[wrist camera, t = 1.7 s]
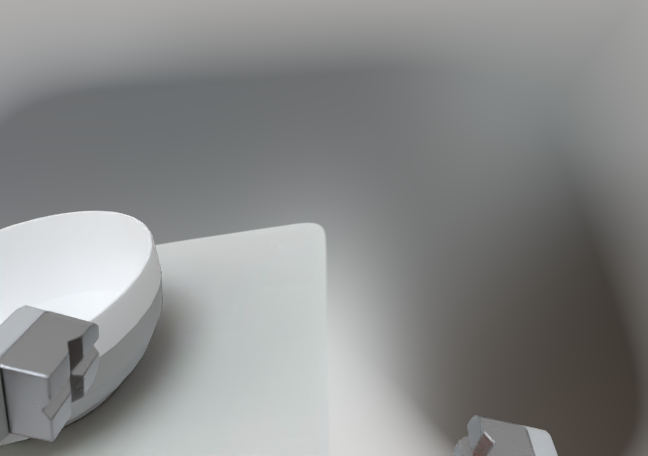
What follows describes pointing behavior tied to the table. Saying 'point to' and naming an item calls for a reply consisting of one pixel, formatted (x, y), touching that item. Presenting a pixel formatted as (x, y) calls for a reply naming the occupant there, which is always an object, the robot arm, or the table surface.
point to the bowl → (87, 286)
